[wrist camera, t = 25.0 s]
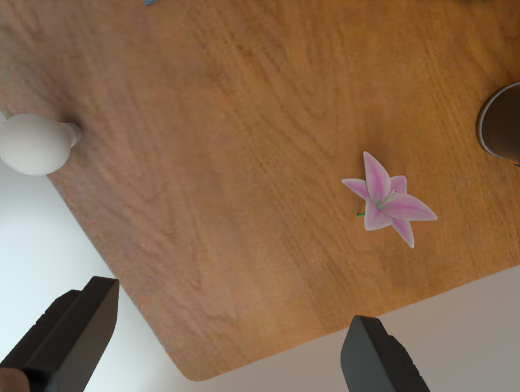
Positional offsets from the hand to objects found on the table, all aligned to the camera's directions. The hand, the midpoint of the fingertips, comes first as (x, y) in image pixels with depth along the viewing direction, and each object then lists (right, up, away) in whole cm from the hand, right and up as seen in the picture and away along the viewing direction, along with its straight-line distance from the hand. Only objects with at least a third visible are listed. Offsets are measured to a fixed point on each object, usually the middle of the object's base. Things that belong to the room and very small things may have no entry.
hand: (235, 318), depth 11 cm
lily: (+16, +5, +33) cm, 37 cm away
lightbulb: (-22, +12, +29) cm, 38 cm away
